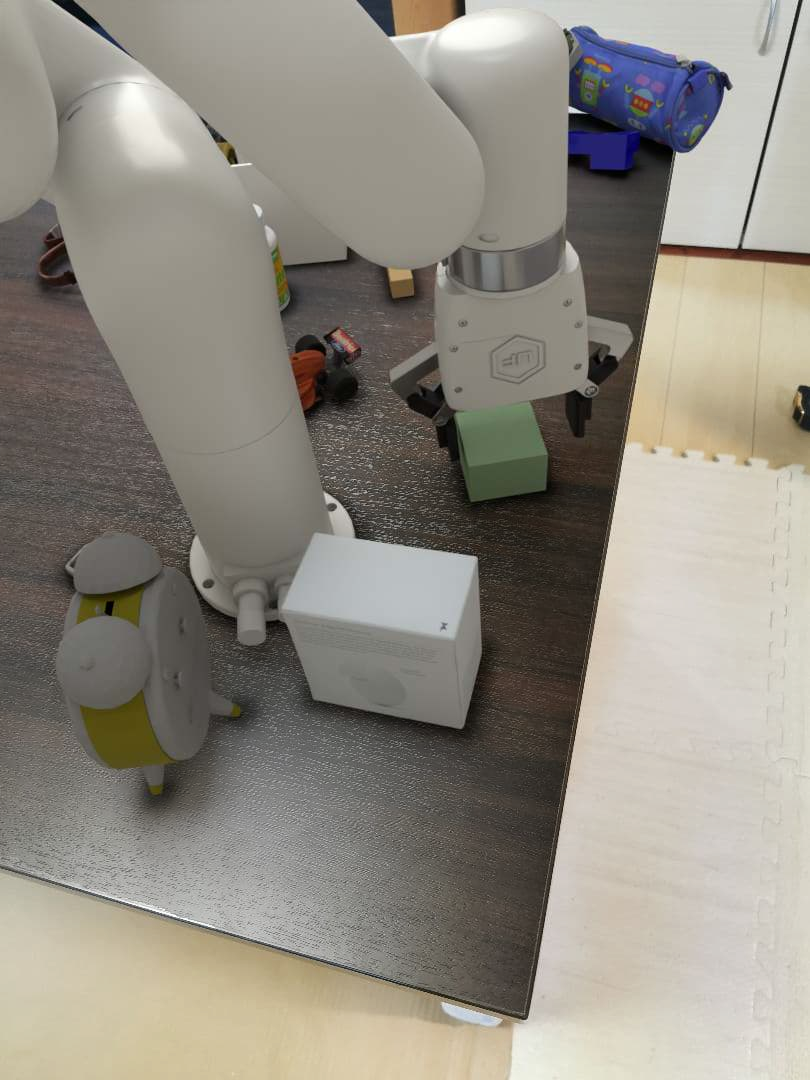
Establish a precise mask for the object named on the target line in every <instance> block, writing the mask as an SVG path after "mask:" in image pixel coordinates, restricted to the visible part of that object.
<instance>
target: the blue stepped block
mask: <svg viewBox="0 0 810 1080" xmlns="http://www.w3.org/2000/svg"><path fill="white" fill-rule="evenodd" d="M640 138H641V136H640V131H626V130H624V131H618V132H615V131H614V132H588V131H587V132H586V130H568V155H590V161H589V162H590V163H589V169H590V170H611V171H612V170H613V171H614V170H615V171H626V170H628V169H631V168H633V166H634V165H633V164H634V153H636V152H639V150H640V149H639V148H640Z"/></svg>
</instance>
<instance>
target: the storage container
mask: <svg viewBox="0 0 810 1080" xmlns="http://www.w3.org/2000/svg"><path fill="white" fill-rule="evenodd" d="M235 152H236V156H237V160H238V164H236V165H231V167H232V169H233V170H234V172H235V174H236V175H237V177H238V178H239V180H240V182H241V183H242V185H243V187H244V189H245V190H246V192H247V194H248V196H249V198H250V200H251V202H252V204H255V205H257V206H259V207H260V208H261V209H262V212H263V216H264V220H265V225H266V226H268V227H269V228H271V229H272V230H273V231H274V233H275V235H276V238H277V242H278V246H279V250H280V255H281V259H282V263H283V266H292V265H301V264H312V263H324V262H333V261H334V262H335V261H344V260H347V259H348V258H347V257H348V246H347V245H346V244H344V243H343V242H342V241H341V240H340V239H338V238H337V237H336V236H335V235H334V234H332V233H331V232H330V231H329V230H328V229H326V228H325V227H324V226H323V225H322V224H320V223H319V222H318V221H317V220H316V219H315V218H313V217H312V216H311V215H310V214H309V213H307V212H306V211H305V210H304V209H302V208H301V207H300V206H299V205H298V204H296V203H295V202H294V201H293V200H292V199H291V198H289V197H288V196H287V195H286V194H285V193H284V192H282V191H281V190H280V189H279V188H278V187H277V186H275V185H274V184H273V183H272V182H271V181H270V180H269V179H268V178H267V177H265V176H264V175H263V174H262V173H261V172H260V171H259V170H258V169H257V168H255V167H254V166H253V165H252V164H251V163H250V162H249V161H248V160H247V159H246V158H245V157H244V156H243V155H241V154H240V153H239V152H238V151H237V150H236V149H235Z"/></svg>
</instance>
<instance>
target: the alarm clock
mask: <svg viewBox="0 0 810 1080" xmlns="http://www.w3.org/2000/svg"><path fill="white" fill-rule="evenodd" d="M87 544H88V545H87V546H85V548H84V549H83V550H82V551H81V552H80V554H79V556H78V558H77V560H76V563H75V567H74V577H73V585H74V589H75V590H76V591H75V593H74V594H73V596H72V597H71V600H70V603H69V606H68V609H67V612H66V616H65V618H64V625H63V631H62V639H61V642H60V644H59V645H58V649H57V653H56V657H55V660H54V661H55V662H54V667H55V673H56V679H57V681H58V683H59V685H60V687H61V690H62V691H63V693H64V700H65V705H66V709H67V711H68V712H67V713H68V716H69V719H70V721H71V725H72V728H73V731H74V735H75V738H76V739H77V741H78V743H79V744H80V746H81V747H82V749H83V751H84V753H86V755H87V757H88V758H90V759H91V760H92V761H93V762H95V763H96V764H98V765H99V766H100V767H102V768H105V769H109V770H113V769H114V770H118V771H119V770H127V769H135V768H141V769H142V772H143V774H144V777H145V779H146V782H147V786H148V788H149V790H150V793H151V795H154V796H157V795H161V794H162V793H163V789H164V777H165V776H164V774H165V765H166V764H167V765H168V764H175V763H179V762H183V761H185V760H188V759H191V758H193V757H194V756H195V755H196V754H197V753H199V751H200V749H201V748H202V746H203V744H204V743H205V740H206V736H207V733H208V730H209V724H210V718H211V715H218V716H226V717H234V718H235V717H236V718H238V717H239V716H240V715H241V713H242V707H241V706H239V705H238V704H236V703H234V702H232V701H231V700H230V699H228V698H225V697H224V696H223V695H220V694H219V693H217V692H215V691H214V690H212V689H213V688H212V687H213V686H212V657H211V651H210V644H209V637H208V632H207V627H206V622H205V618H204V615H203V611H202V608H201V605H200V601H199V598H198V596H197V593H196V591H195V589H194V586H193V585H192V583H191V582H190V579H189V578H188V577H187V576H186V575H185V574H184V573H183V572H182V571H181V570H179V569H177V568H175V567H173V566H164V565H163V562H162V560H161V557H160V555H159V554H158V552H157V550H156V549H155V547H154V546H152V545H151V544H150V543H149V542H148V541H147V540H145V539H143V538H141V537H140V536H138V535H134V534H132V533H130V532H129V533H128V532H119V531H118V532H115V531H113V530H106V531H104V532H102V534H101V535H100V536H98V537H96V538H94V539H93V540H92V541H90V542H89V543H87Z"/></svg>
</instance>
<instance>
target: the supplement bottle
mask: <svg viewBox="0 0 810 1080" xmlns="http://www.w3.org/2000/svg"><path fill="white" fill-rule="evenodd" d="M253 206H254V208H255V210H256V212H257V214H258V217H259V219H260V221H261V224H262V226H263V229H264V232H265V235H266V238H267V241H268V244H269V248H270V252H271V256H272V260H273V265H274V271H275V278H276V286H277V295H278V303H279V310H280V312H282V311H283V310H285V309H286V308H287V306H288V305H289V302H290V300H291V299H290V298H291V295H290V290H289V289H290V288H289V285H288V281H287V276H286V272H285V267H284V265H283V263H282V259H281V255H280V250H279V246H278V242H277V238H276V235H275V233H274V231H273V230H272V229H271V228H269V227H268V226H266V225H265V220H264V216H263V212H262V209H261V208H260V207H259V206H257V205H255V204H253Z"/></svg>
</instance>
